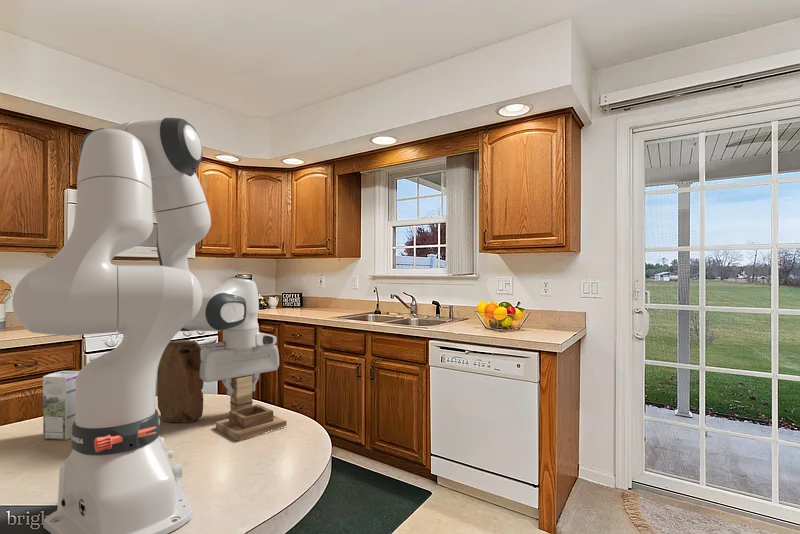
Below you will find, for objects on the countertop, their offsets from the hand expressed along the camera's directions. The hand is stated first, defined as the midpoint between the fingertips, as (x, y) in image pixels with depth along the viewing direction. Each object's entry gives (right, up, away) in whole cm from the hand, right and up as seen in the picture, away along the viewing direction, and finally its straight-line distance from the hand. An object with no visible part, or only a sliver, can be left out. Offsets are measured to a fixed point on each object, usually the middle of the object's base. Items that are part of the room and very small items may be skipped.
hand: (241, 393), depth 114 cm
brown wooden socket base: (+5, -6, -8) cm, 11 cm away
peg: (0, -5, 0) cm, 5 cm away
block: (-15, -6, -1) cm, 16 cm away
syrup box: (-36, -6, -12) cm, 39 cm away
